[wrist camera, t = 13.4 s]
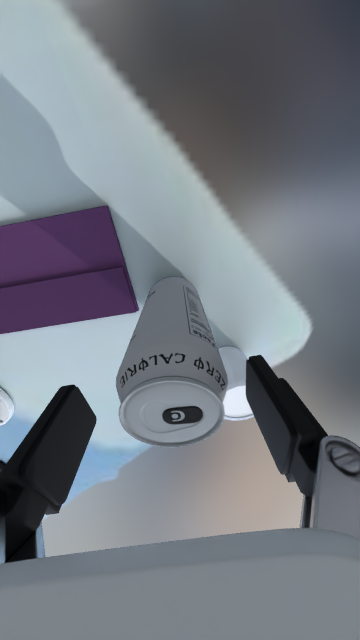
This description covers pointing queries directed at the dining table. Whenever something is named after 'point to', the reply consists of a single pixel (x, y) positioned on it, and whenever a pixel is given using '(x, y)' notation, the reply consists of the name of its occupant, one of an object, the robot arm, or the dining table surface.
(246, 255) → the dining table surface
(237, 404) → the shot glass
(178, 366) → the energy drink can
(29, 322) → the napkin
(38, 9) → the dining table surface
